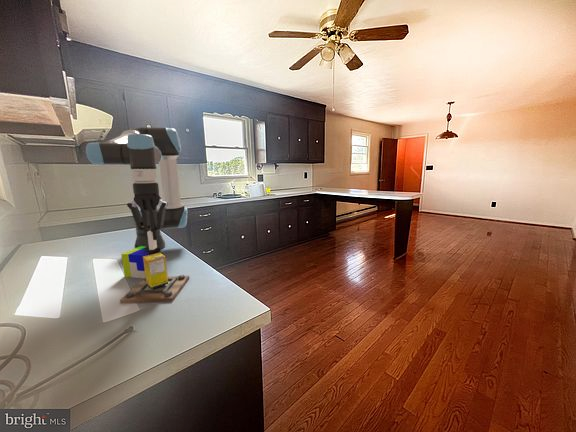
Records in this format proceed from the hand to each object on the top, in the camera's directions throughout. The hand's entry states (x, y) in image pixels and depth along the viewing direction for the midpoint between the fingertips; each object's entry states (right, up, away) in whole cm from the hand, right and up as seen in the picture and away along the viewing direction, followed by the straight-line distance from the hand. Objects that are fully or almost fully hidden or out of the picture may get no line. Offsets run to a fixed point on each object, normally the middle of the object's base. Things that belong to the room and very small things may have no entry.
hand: (153, 248), depth 85 cm
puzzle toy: (-14, -13, +18) cm, 26 cm away
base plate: (0, -16, +3) cm, 16 cm away
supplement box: (0, -14, +3) cm, 14 cm away
